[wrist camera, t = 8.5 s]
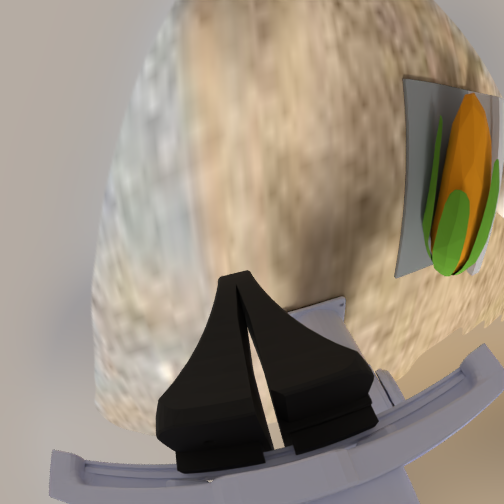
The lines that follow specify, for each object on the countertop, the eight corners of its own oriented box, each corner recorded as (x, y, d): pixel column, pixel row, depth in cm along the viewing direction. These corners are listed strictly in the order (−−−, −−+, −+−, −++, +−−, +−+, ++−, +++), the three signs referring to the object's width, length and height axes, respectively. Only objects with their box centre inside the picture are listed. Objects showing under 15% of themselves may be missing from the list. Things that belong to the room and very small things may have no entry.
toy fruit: (446, 304, 21) (487, 90, 10) (403, 264, 27) (419, 80, 17) (481, 282, 22) (516, 106, 12) (440, 249, 29) (459, 92, 18)
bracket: (456, 252, 30) (478, 271, 26) (394, 276, 29) (417, 302, 25) (472, 91, 18) (505, 99, 14) (402, 78, 17) (442, 81, 13)
